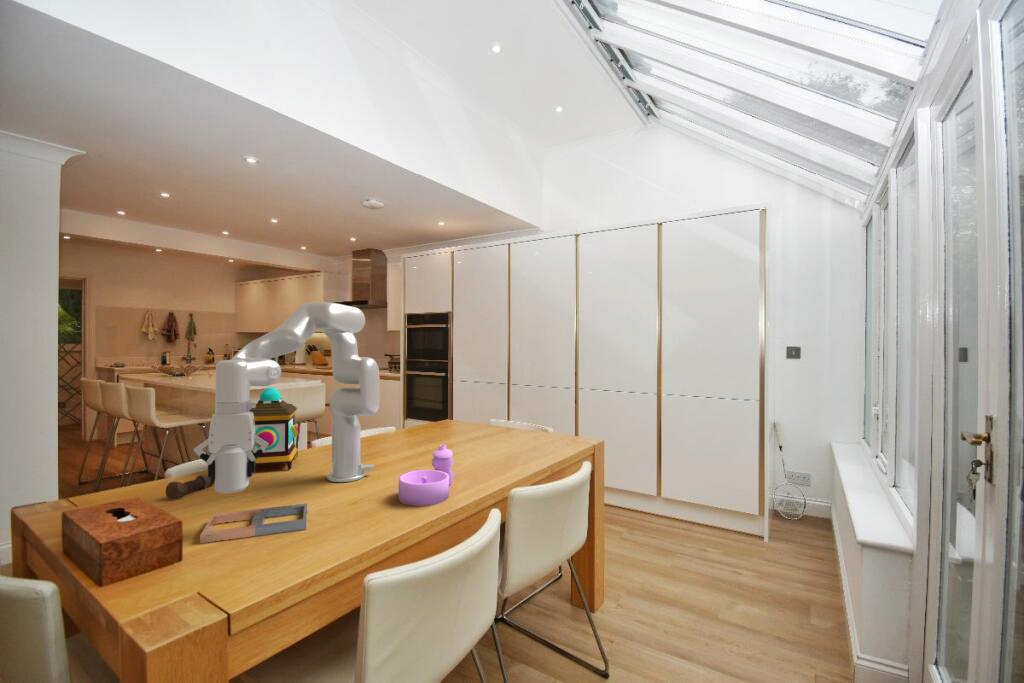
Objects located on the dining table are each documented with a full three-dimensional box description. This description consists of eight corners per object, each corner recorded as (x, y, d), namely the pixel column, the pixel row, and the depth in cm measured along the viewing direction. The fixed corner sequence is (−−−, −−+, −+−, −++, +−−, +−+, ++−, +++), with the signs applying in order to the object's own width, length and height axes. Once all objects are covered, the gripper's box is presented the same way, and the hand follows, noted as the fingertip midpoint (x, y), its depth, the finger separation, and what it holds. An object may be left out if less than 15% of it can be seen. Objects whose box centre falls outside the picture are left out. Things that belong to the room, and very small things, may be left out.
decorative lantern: (246, 461, 183) (247, 385, 183) (301, 457, 189) (302, 384, 189) (232, 475, 164) (233, 390, 164) (294, 471, 170) (294, 389, 170)
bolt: (215, 490, 154) (173, 504, 140) (205, 481, 155) (162, 494, 141) (223, 475, 154) (182, 488, 139) (212, 467, 155) (170, 478, 140)
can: (212, 496, 114) (213, 447, 114) (216, 487, 121) (216, 441, 121) (248, 492, 117) (248, 444, 117) (249, 483, 124) (249, 438, 124)
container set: (435, 508, 135) (436, 463, 135) (389, 503, 139) (389, 459, 139) (467, 483, 159) (467, 444, 159) (426, 478, 163) (427, 441, 163)
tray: (307, 510, 132) (307, 503, 132) (306, 529, 120) (306, 521, 119) (212, 521, 124) (212, 514, 124) (200, 543, 111) (200, 535, 111)
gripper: (272, 404, 126) (271, 470, 126) (195, 407, 119) (195, 476, 119) (269, 408, 119) (268, 477, 119) (188, 412, 112) (187, 485, 112)
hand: (232, 476), depth 119 cm, fingers closed on can, 7 cm apart
